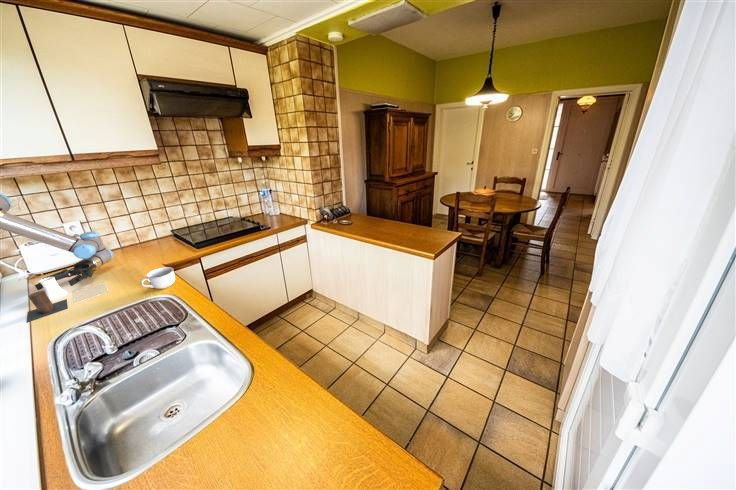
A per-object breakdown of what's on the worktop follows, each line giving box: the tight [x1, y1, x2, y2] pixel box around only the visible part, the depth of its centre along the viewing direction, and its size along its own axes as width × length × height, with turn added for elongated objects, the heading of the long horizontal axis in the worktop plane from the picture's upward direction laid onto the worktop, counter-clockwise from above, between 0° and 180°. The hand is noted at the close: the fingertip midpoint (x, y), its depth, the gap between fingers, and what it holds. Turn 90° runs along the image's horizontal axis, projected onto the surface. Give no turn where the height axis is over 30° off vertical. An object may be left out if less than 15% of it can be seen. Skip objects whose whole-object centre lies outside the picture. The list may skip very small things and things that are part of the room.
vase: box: [38, 277, 69, 301], centre depth 125 cm, size 8×8×10 cm
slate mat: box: [25, 298, 69, 324], centre depth 116 cm, size 12×12×1 cm
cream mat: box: [71, 281, 110, 305], centre depth 129 cm, size 16×12×1 cm
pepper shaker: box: [27, 290, 55, 314], centre depth 114 cm, size 5×5×9 cm
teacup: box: [140, 266, 177, 290], centre depth 129 cm, size 14×11×8 cm
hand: (53, 285), depth 126 cm, fingers open, 13 cm apart
